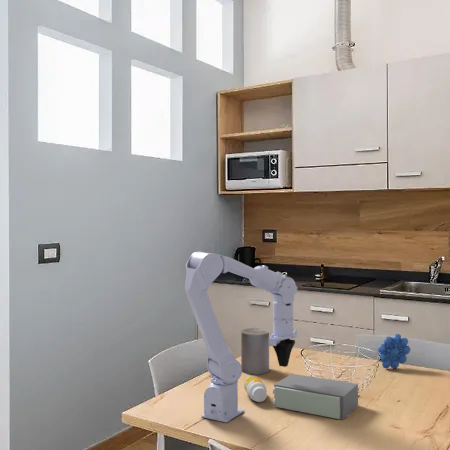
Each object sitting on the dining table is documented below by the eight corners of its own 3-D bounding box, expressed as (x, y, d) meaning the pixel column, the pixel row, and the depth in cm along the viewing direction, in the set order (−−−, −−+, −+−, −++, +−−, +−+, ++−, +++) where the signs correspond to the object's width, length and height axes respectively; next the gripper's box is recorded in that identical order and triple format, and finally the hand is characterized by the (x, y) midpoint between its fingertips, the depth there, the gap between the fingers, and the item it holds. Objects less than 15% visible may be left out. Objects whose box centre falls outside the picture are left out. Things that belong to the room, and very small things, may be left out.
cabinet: (343, 419, 139) (343, 396, 139) (274, 405, 150) (274, 384, 150) (358, 405, 149) (357, 383, 149) (292, 393, 160) (292, 373, 160)
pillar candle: (237, 367, 188) (237, 325, 187) (263, 365, 191) (263, 323, 190) (247, 376, 179) (246, 331, 178) (274, 373, 181) (273, 329, 181)
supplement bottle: (264, 385, 161) (273, 395, 152) (251, 397, 160) (258, 408, 151) (253, 371, 160) (261, 381, 151) (240, 383, 160) (246, 394, 150)
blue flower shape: (405, 364, 190) (404, 331, 189) (413, 370, 183) (413, 335, 183) (373, 365, 189) (372, 331, 189) (379, 371, 182) (379, 336, 182)
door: (272, 406, 149) (272, 386, 148) (273, 405, 149) (273, 385, 149) (339, 419, 139) (339, 398, 139) (340, 417, 139) (340, 397, 139)
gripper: (285, 324, 144) (285, 374, 144) (306, 315, 156) (306, 361, 156) (261, 321, 148) (262, 370, 148) (284, 313, 160) (284, 358, 160)
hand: (283, 365), depth 152 cm, fingers closed
